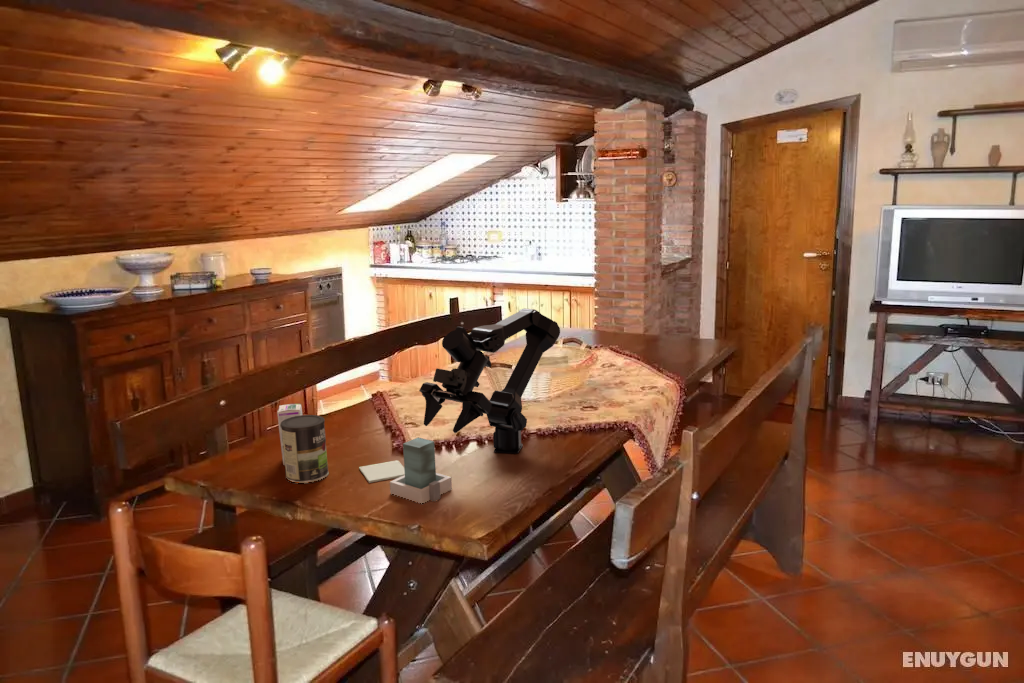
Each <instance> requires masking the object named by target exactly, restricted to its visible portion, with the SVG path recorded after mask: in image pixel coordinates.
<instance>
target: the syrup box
mask: <svg viewBox="0 0 1024 683" xmlns="http://www.w3.org/2000/svg"><path fill="white" fill-rule="evenodd" d="M302 406H303V405H302V403H288V404H282V405H281V404H279V406H278V409H277V412H276V413H277V414H276V415H277V421H278V432H279V440H280V450H281V457H282V464H283V466H285V460H284V449H283V439H282V428H281V425H280V424H281V422H282V421H283V420H285V419H288V418H291V417H294V416H301V415H303V409H302V408H303V407H302Z"/></svg>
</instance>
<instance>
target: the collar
mask: <svg viewBox="0 0 1024 683" xmlns="http://www.w3.org/2000/svg"><path fill="white" fill-rule="evenodd" d="M452 480H453V479H452V477H451V476H448V475H446V474H445V475H444V474H442V473H439V472H436V481H434V482H432V483H429V486H427V487H425V488H423V489H419V488H416V487H413V486H409V485H406V484H405V475H404V476H401V477H398V478H394V479H393V480H391V481H389V492H390V493H391V494H390V495H392V494H394V495H393V496H395V495H397V496H396V497H398V496H400V497H399V498H401V497H403V498H402V499H404V498H406V499H405V500H407V499H409V500H408V501H410V500H412V501H411V502H413V501H416V502H415V503H417V502H418V504H420V503H421V504H420V505H423V504H422V503H424V504H425V502H426V503H428V502H430V501H429V500H432V501H431V502H433V501H435V502H437V501H438V499H439V500H441V494H442V495H443V493H444V494H445V493H448V492H450V491H451V490H453V483H452ZM436 500H437V501H436ZM427 501H428V502H427Z"/></svg>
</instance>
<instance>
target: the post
mask: <svg viewBox="0 0 1024 683" xmlns="http://www.w3.org/2000/svg"><path fill="white" fill-rule="evenodd" d="M402 450H403V467H404V470H405V484H406V485H409V486H413V487H416V488H419V489H423V488H425V487H427V486H429V483H432V482H434V481H436V473H437V471H436V469H437V468H436V450H435V441H434V440H431V439H426V438H422V437H416V438H413V439H411V440H408V441H406V442H404V443H402Z"/></svg>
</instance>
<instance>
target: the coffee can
mask: <svg viewBox="0 0 1024 683" xmlns="http://www.w3.org/2000/svg"><path fill="white" fill-rule="evenodd" d="M325 422H326V421H325V418H324V417H323V416H321V415H317V414H302V415H301V416H294V417H291V418H288V419H285V420H283V421H282V422H281V424H280V425H281V428H282V439H283V449H284V460H285V465H284V467H285V479H286V478H287V479H288V480H290V481H292V482H299V483H304V484H309V483H308V482H312V483H315V482H314V481H317V482H319V481H322V480H324V479H326V478H327V477H328V476H329V474H330V473H329V464H328V452H327V444H326V443H327V442H326V441H327V439H326V430H325V429H326V428H325V427H326V426H325V425H326V424H325ZM325 477H326V478H325ZM323 478H324V479H323ZM321 479H322V480H321ZM318 480H319V481H318Z"/></svg>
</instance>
